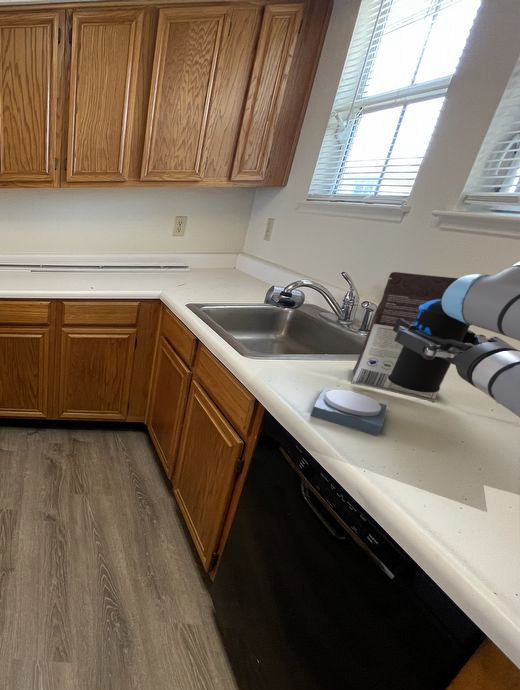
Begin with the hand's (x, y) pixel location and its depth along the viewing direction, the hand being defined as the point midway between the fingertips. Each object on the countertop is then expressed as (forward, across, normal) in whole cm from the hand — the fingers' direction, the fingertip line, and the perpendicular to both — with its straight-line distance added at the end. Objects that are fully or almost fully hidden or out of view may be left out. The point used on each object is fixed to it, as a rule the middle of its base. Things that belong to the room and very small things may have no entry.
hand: (423, 326), depth 86 cm
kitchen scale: (-5, -9, -20) cm, 23 cm away
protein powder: (+14, +7, -20) cm, 26 cm away
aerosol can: (-5, 0, -11) cm, 12 cm away
